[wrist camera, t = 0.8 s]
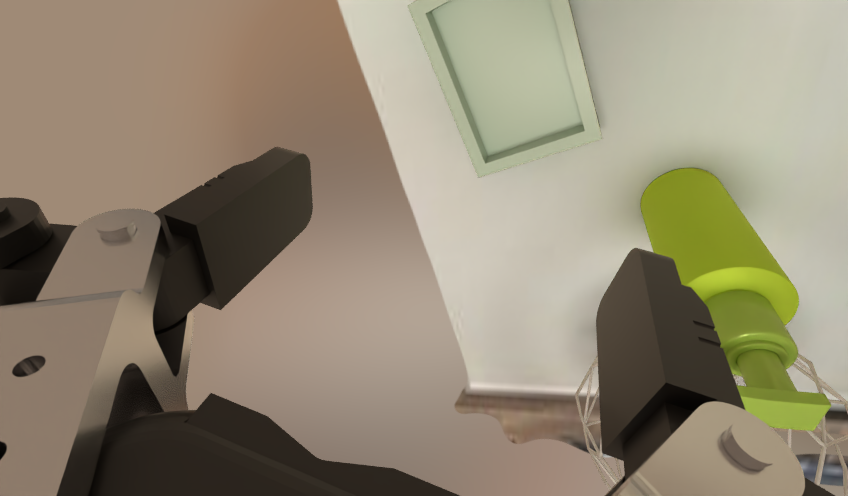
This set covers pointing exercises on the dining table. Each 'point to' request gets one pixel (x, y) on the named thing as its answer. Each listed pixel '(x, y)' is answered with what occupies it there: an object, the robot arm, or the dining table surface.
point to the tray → (509, 77)
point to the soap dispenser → (733, 290)
